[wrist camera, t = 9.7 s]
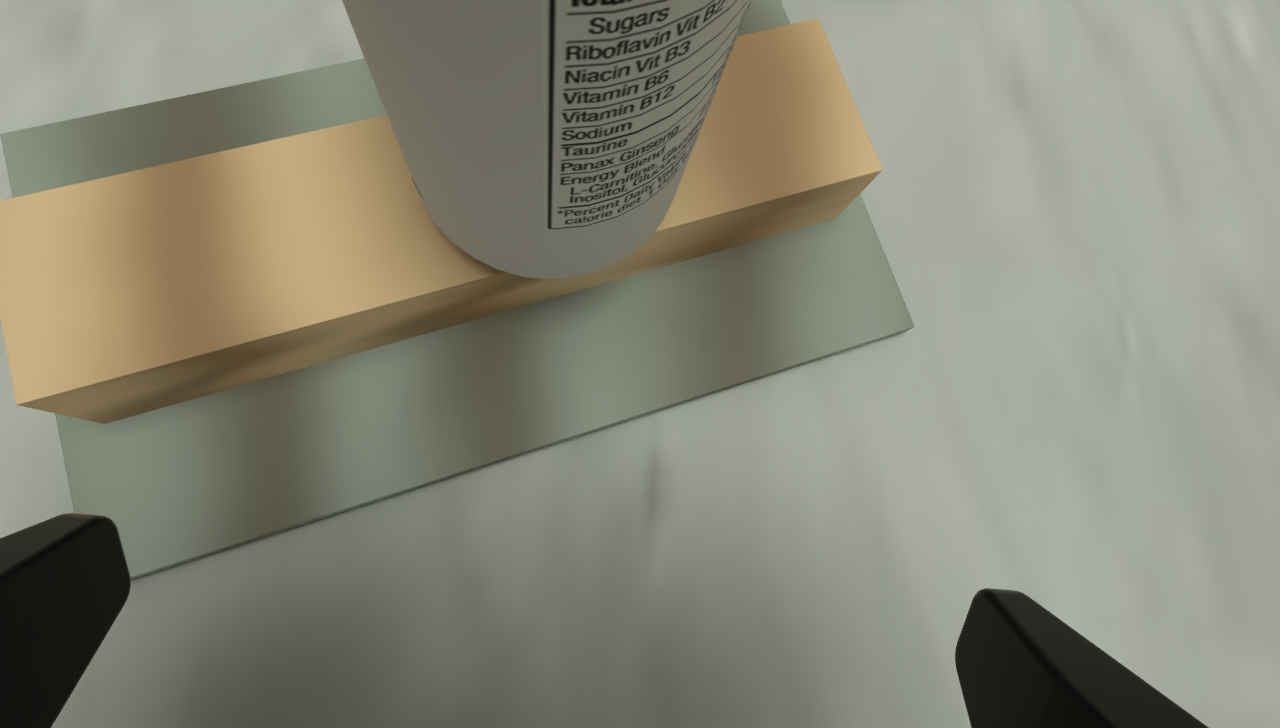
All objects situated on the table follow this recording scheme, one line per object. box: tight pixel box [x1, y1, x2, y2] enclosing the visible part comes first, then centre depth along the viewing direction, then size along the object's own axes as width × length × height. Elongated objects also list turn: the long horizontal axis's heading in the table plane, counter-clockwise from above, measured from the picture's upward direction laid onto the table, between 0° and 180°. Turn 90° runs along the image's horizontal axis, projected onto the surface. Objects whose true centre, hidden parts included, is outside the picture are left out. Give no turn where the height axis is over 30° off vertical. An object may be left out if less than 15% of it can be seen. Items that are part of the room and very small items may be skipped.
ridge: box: [0, 0, 914, 580], centre depth 19 cm, size 22×12×4 cm, turn 109°
